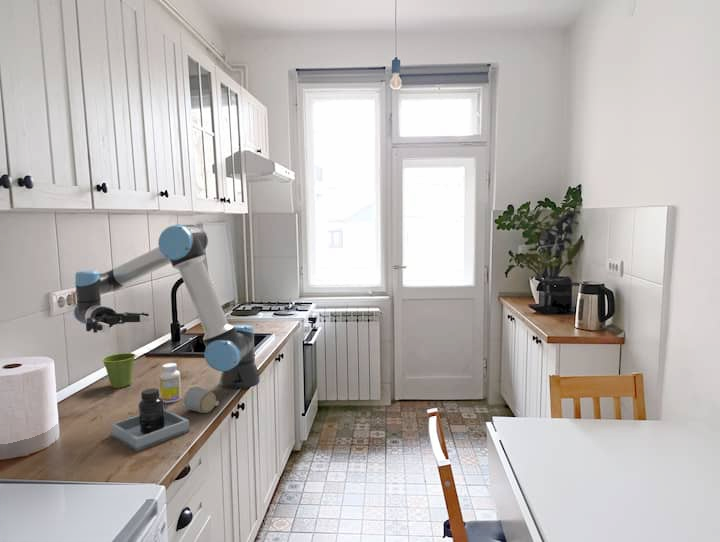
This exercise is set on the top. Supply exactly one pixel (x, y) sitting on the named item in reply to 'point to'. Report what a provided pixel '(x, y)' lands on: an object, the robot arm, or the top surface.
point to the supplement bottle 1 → (151, 411)
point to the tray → (138, 441)
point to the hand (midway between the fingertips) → (130, 325)
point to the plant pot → (119, 369)
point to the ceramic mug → (200, 400)
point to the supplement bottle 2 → (170, 383)
